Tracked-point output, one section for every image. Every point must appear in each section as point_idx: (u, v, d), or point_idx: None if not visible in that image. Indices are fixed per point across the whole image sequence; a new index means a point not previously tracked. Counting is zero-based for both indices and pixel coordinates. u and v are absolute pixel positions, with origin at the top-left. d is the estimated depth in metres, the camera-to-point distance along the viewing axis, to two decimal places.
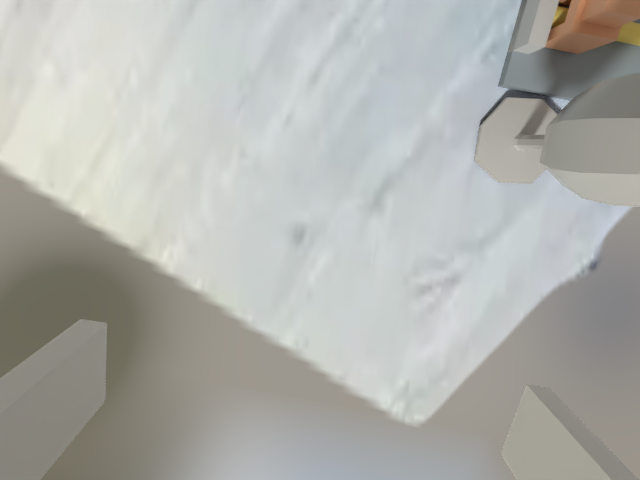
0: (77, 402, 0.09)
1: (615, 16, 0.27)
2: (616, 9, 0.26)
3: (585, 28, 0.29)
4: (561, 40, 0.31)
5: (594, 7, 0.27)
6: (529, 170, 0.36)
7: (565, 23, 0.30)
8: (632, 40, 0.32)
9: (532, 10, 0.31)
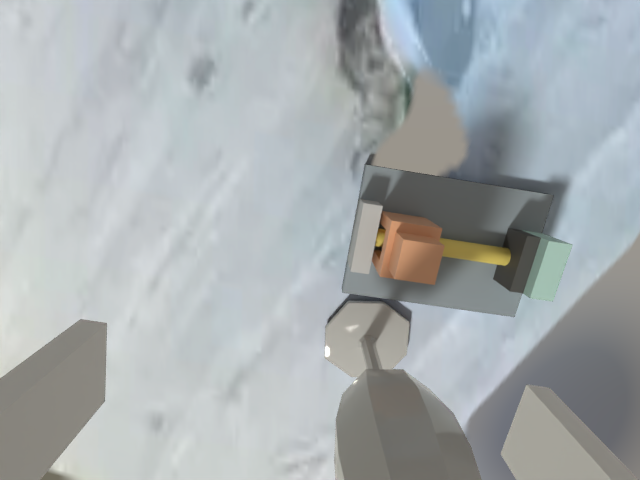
0: (77, 402, 0.09)
1: None
2: (408, 278, 0.26)
3: None
4: None
5: (392, 266, 0.27)
6: None
7: (380, 261, 0.29)
8: (463, 259, 0.32)
9: (355, 237, 0.31)
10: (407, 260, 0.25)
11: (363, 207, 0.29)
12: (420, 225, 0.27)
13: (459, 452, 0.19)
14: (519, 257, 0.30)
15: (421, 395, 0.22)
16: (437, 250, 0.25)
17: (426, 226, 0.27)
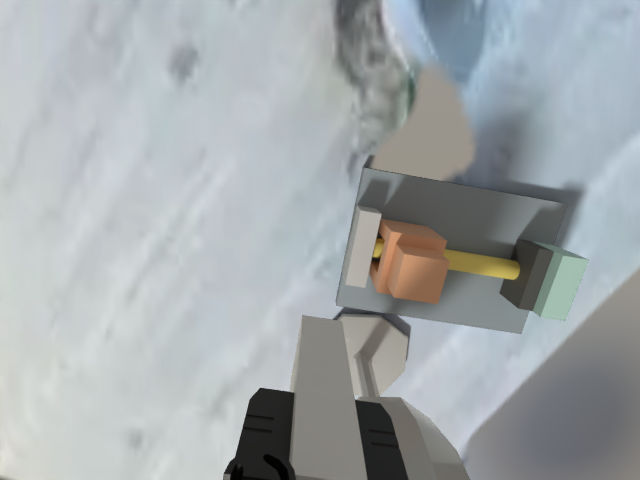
0: None
1: None
2: (408, 296, 0.23)
3: None
4: None
5: (391, 282, 0.24)
6: None
7: (377, 274, 0.26)
8: (468, 272, 0.29)
9: (351, 246, 0.28)
10: (408, 277, 0.23)
11: (360, 215, 0.26)
12: (423, 237, 0.25)
13: None
14: (529, 272, 0.27)
15: (421, 432, 0.19)
16: (441, 266, 0.23)
17: (429, 238, 0.25)
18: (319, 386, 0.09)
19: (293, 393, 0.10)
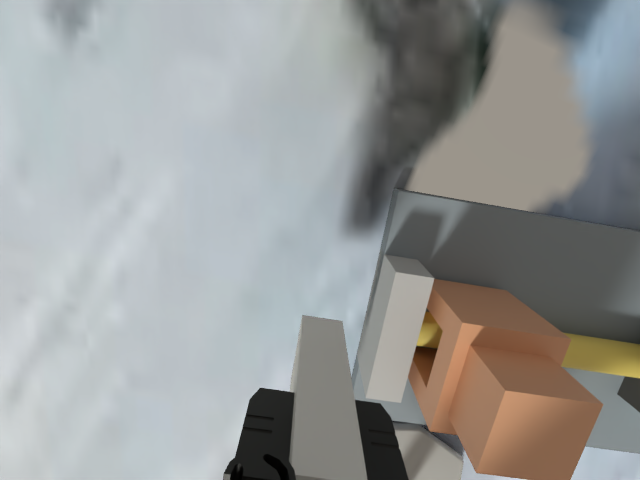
0: None
1: None
2: (508, 471, 0.11)
3: None
4: None
5: (466, 429, 0.12)
6: None
7: (427, 389, 0.14)
8: (576, 368, 0.17)
9: (376, 330, 0.16)
10: (510, 436, 0.11)
11: (395, 280, 0.14)
12: (523, 331, 0.13)
13: None
14: None
15: None
16: (584, 414, 0.10)
17: (536, 334, 0.13)
18: (319, 386, 0.09)
19: (293, 393, 0.10)
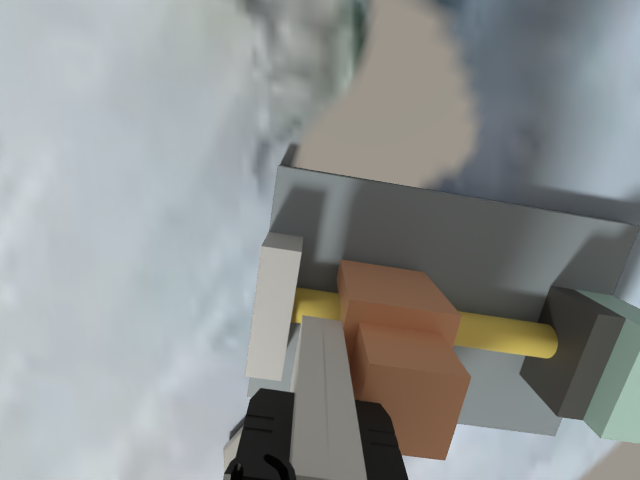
0: None
1: None
2: None
3: None
4: None
5: None
6: None
7: None
8: (466, 346, 0.17)
9: None
10: None
11: (262, 254, 0.14)
12: (413, 308, 0.12)
13: None
14: (579, 353, 0.15)
15: None
16: (453, 388, 0.10)
17: (426, 311, 0.12)
18: (319, 386, 0.09)
19: (293, 393, 0.10)
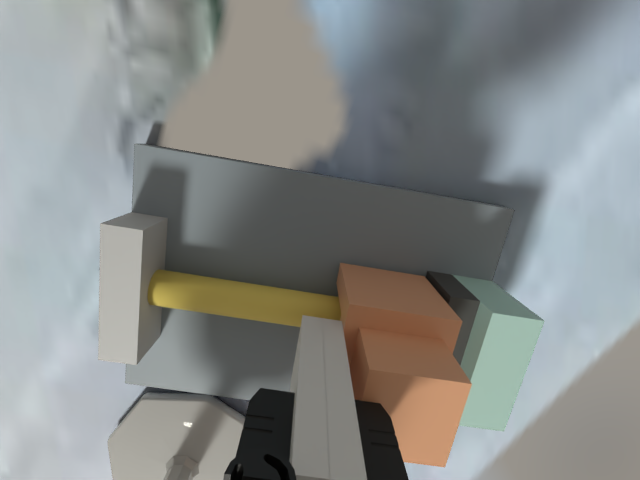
0: None
1: None
2: None
3: None
4: None
5: None
6: None
7: None
8: None
9: None
10: None
11: (103, 232, 0.14)
12: (413, 313, 0.12)
13: None
14: None
15: None
16: (453, 394, 0.10)
17: (427, 316, 0.12)
18: (319, 386, 0.09)
19: (293, 393, 0.10)
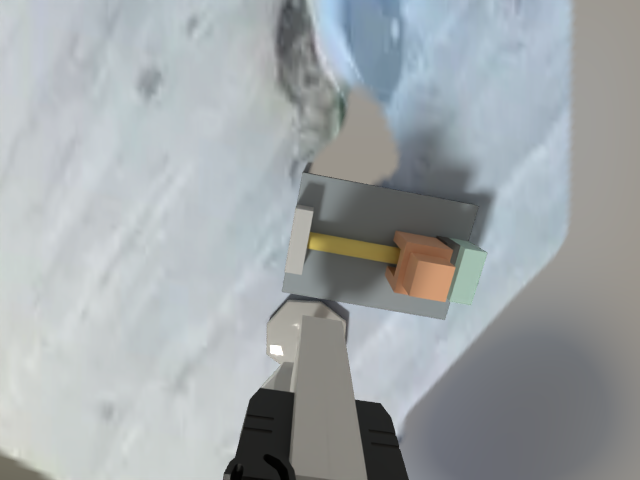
0: None
1: None
2: (421, 295, 0.28)
3: None
4: None
5: (407, 284, 0.29)
6: None
7: (394, 277, 0.32)
8: (392, 263, 0.34)
9: None
10: (421, 279, 0.28)
11: (295, 212, 0.31)
12: (433, 246, 0.30)
13: None
14: None
15: None
16: (449, 271, 0.28)
17: (438, 248, 0.30)
18: (319, 386, 0.09)
19: (293, 393, 0.10)
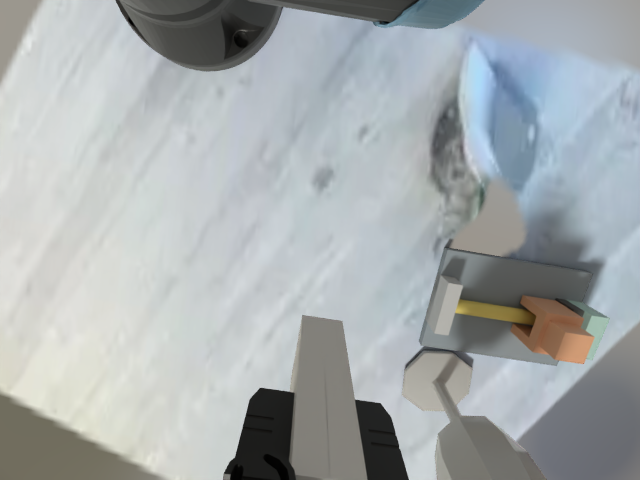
0: None
1: None
2: (564, 359, 0.35)
3: (544, 350, 0.37)
4: None
5: (549, 348, 0.36)
6: None
7: (529, 338, 0.38)
8: (520, 323, 0.40)
9: (438, 306, 0.39)
10: (566, 347, 0.34)
11: (448, 286, 0.38)
12: (567, 316, 0.36)
13: None
14: None
15: (508, 440, 0.30)
16: (589, 340, 0.34)
17: (572, 316, 0.36)
18: (319, 386, 0.09)
19: (293, 393, 0.10)
